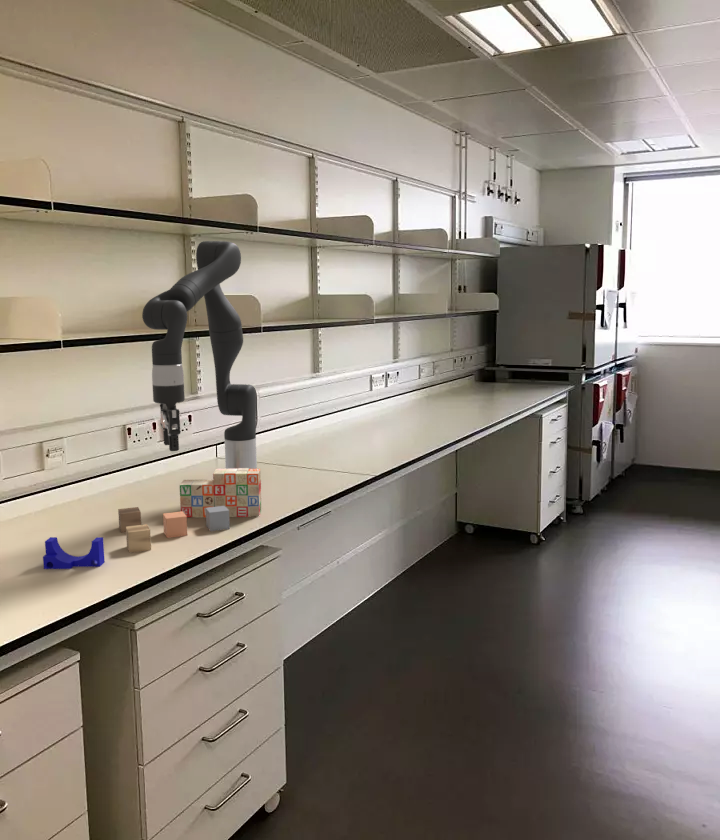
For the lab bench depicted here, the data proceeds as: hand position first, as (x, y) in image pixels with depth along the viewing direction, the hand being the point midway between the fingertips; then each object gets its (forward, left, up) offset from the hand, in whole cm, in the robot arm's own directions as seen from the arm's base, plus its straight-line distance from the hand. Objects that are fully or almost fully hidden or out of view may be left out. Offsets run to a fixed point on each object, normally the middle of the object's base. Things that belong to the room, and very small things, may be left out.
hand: (171, 447), depth 196 cm
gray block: (-1, +11, -22) cm, 25 cm away
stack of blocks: (-13, +15, -22) cm, 30 cm away
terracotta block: (0, 0, -22) cm, 22 cm away
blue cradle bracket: (+15, -25, -22) cm, 37 cm away
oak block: (+8, -10, -22) cm, 26 cm away
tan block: (-9, -10, -22) cm, 26 cm away
